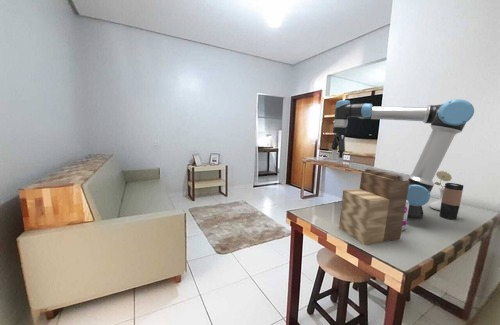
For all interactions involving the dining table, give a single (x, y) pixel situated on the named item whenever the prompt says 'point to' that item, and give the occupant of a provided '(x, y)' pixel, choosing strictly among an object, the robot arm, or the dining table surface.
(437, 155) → the robot arm
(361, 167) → the clear long thin bar
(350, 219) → the walnut stand
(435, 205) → the flower in vase
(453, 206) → the travel mug
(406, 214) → the supplement can
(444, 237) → the dining table surface
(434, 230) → the dining table surface
